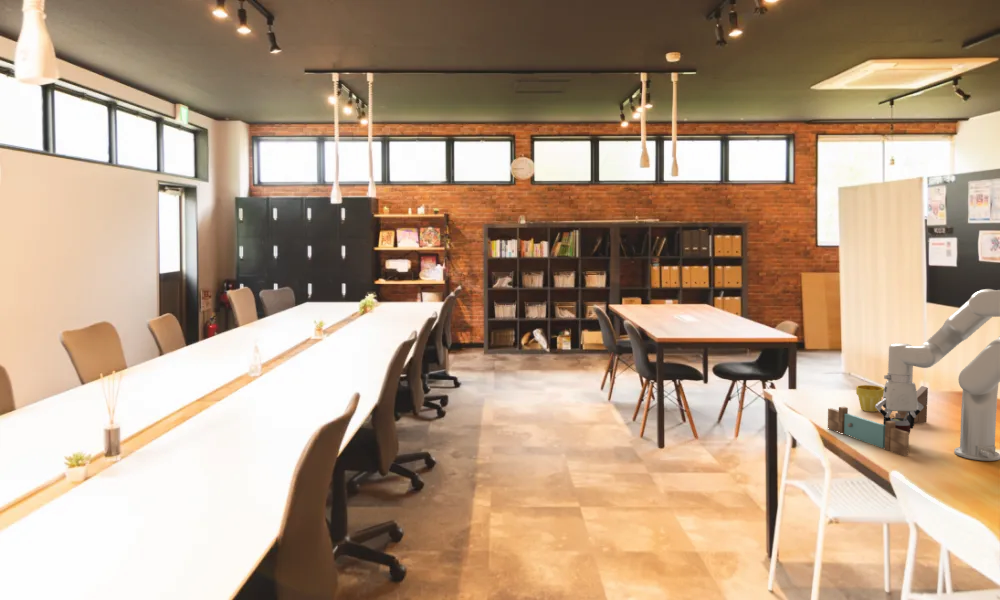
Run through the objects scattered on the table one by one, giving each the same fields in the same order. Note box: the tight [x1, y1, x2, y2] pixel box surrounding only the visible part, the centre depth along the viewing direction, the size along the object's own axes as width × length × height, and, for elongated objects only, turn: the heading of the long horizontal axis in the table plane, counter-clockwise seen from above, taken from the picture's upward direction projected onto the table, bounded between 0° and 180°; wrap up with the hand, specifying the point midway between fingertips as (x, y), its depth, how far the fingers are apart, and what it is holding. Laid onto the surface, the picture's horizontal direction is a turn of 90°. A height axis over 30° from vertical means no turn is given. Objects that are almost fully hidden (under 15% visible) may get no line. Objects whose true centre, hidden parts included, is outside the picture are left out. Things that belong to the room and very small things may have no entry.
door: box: [843, 413, 885, 449], centre depth 247 cm, size 18×2×8 cm, turn 15°
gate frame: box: [827, 406, 910, 457], centre depth 247 cm, size 36×2×10 cm, turn 15°
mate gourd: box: [890, 401, 918, 435], centre depth 243 cm, size 8×8×15 cm
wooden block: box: [894, 385, 929, 424], centre depth 271 cm, size 4×11×18 cm, turn 93°
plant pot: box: [855, 384, 885, 413], centre depth 292 cm, size 10×10×10 cm
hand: (898, 427), depth 244 cm, fingers closed on mate gourd, 7 cm apart
